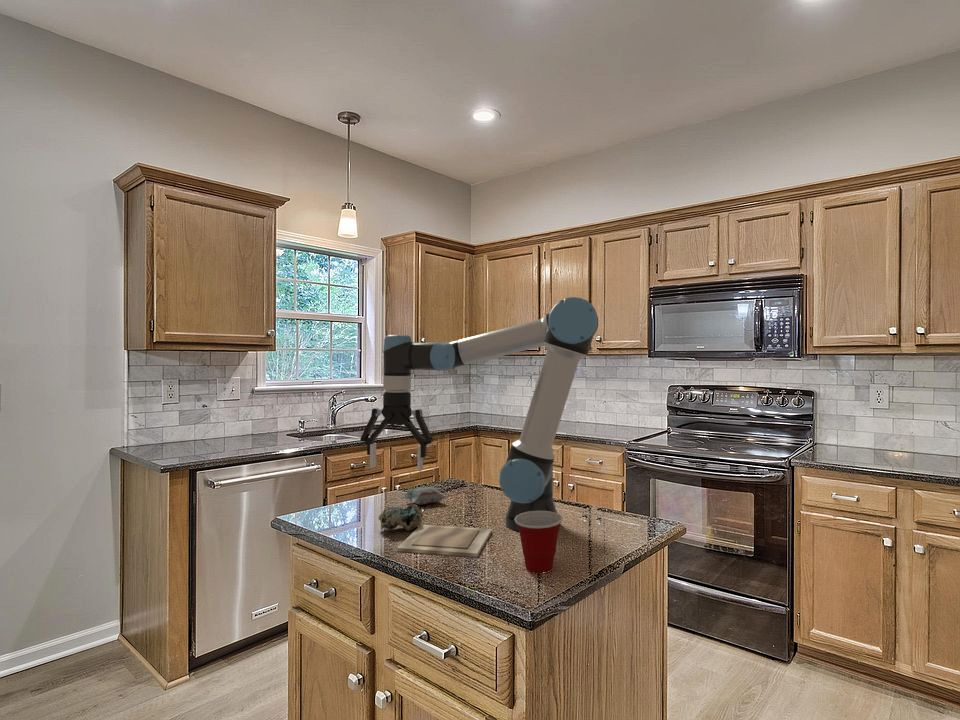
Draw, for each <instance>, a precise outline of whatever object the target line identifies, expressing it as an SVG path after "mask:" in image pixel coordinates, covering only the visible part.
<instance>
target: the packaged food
mask: <svg viewBox="0 0 960 720" xmlns="http://www.w3.org/2000/svg"><path fill="white" fill-rule="evenodd" d="M447 498H448V495H447V494H446V493H445V494H444V493H442V492H441V491H440V489H439V488H437V487H433V486H423V487H416V488H412V489H409V490H407V492H406V494H405V495H404V499H407V500H409V501H410V502H411V503H412V504H415V505H419V506H420V505H430V504H435V503H438V502H441V501H443V500H445V499H447Z"/></svg>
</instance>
